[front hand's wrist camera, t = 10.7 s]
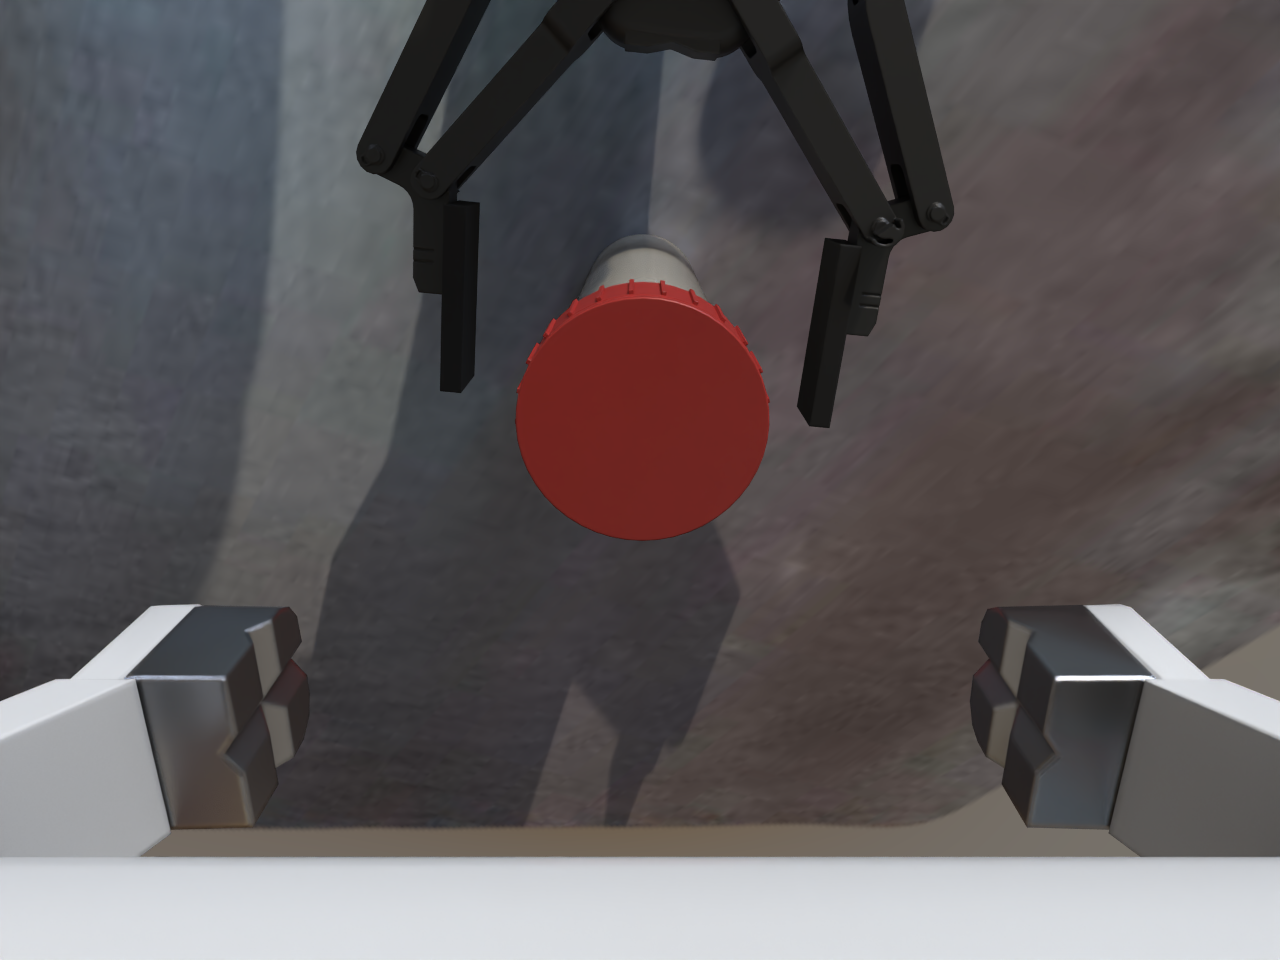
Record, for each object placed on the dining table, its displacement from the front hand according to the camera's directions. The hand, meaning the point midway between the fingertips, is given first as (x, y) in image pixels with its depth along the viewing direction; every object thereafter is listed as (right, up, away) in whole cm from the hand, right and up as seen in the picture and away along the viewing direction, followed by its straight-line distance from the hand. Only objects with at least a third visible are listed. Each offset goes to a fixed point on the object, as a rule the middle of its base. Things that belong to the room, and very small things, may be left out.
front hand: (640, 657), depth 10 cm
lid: (0, +3, +9) cm, 10 cm away
